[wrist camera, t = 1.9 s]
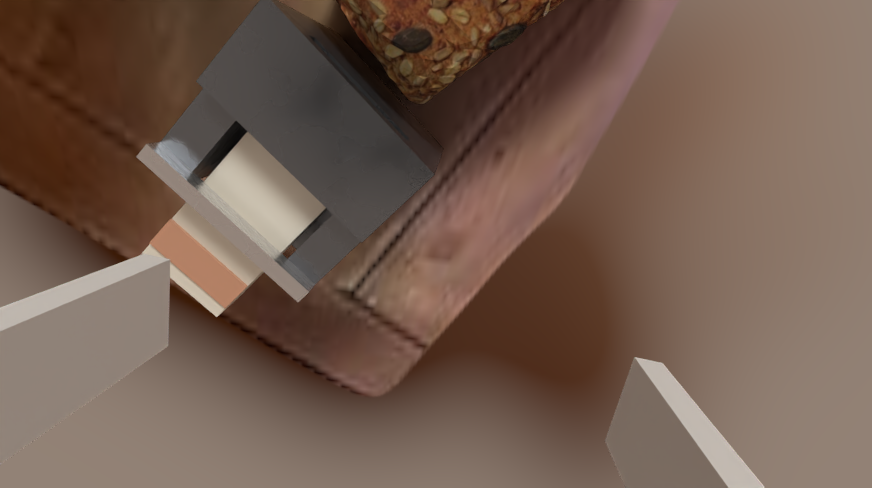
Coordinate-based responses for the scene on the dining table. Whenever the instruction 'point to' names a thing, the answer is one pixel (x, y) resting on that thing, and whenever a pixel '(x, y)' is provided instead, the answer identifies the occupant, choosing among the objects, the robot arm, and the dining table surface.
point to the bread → (438, 36)
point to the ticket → (254, 201)
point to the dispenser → (298, 139)
